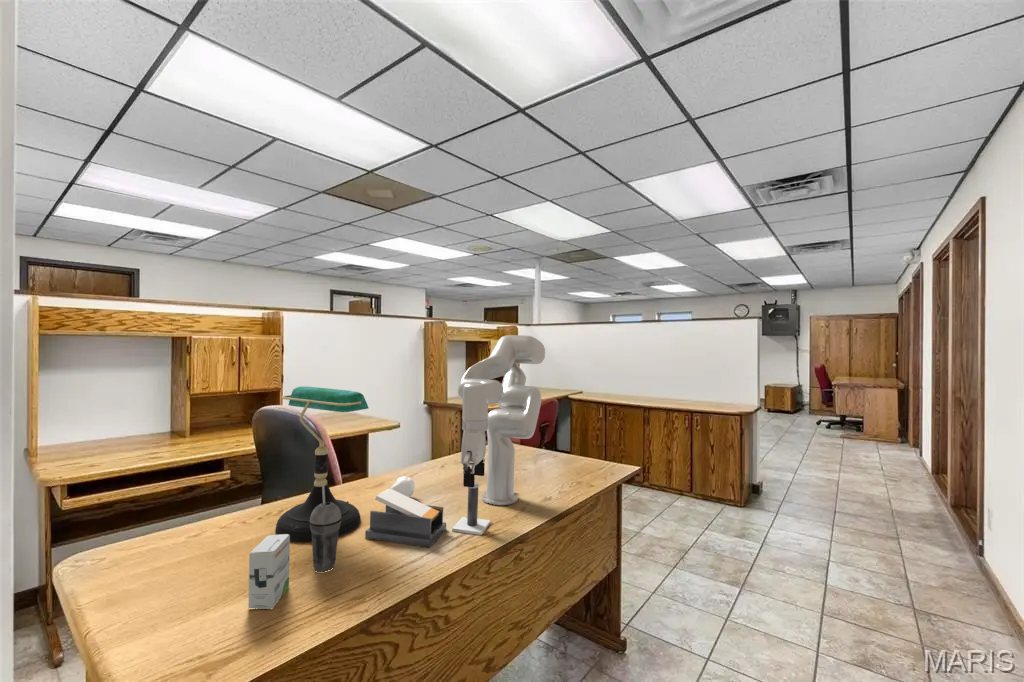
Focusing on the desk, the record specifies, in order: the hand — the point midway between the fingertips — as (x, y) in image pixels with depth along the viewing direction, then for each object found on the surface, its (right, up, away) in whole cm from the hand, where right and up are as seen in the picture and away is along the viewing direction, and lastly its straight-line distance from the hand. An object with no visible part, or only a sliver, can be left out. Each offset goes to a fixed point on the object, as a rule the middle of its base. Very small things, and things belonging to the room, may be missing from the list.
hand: (474, 480), depth 134 cm
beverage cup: (-34, -13, -27) cm, 45 cm away
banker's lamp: (-45, -12, -3) cm, 47 cm away
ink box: (-40, -13, -40) cm, 58 cm away
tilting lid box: (-19, -13, -7) cm, 24 cm away
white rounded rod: (-1, -13, -1) cm, 13 cm away
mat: (-1, -13, -1) cm, 13 cm away
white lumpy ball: (-26, -13, +21) cm, 36 cm away
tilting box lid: (-18, -5, -7) cm, 20 cm away
